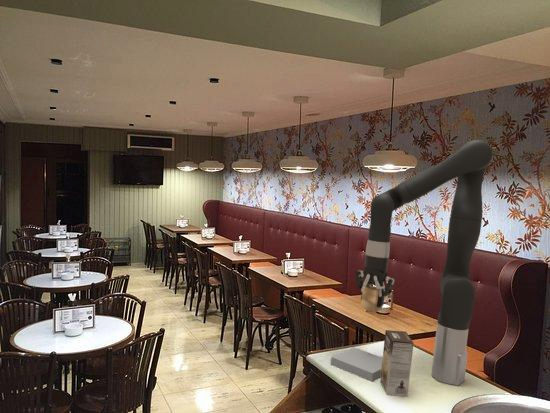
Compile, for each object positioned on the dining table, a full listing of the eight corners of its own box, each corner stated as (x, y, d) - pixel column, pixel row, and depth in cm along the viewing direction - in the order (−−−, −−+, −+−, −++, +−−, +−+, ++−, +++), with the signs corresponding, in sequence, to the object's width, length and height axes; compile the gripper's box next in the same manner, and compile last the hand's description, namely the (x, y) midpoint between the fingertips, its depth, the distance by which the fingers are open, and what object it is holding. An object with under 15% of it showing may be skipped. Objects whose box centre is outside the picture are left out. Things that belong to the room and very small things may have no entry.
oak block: (381, 310, 148) (384, 289, 147) (374, 312, 144) (376, 291, 144) (368, 306, 151) (370, 285, 151) (360, 308, 148) (363, 287, 147)
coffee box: (379, 380, 136) (384, 329, 135) (400, 382, 136) (405, 331, 134) (386, 395, 126) (392, 340, 125) (408, 397, 126) (414, 342, 125)
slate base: (393, 369, 145) (393, 361, 145) (372, 381, 134) (372, 373, 134) (353, 354, 155) (353, 347, 155) (330, 364, 144) (331, 356, 144)
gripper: (402, 257, 145) (396, 309, 146) (364, 249, 154) (359, 298, 155) (391, 259, 139) (385, 312, 140) (352, 251, 149) (347, 301, 150)
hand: (371, 304), depth 148 cm, fingers closed on oak block, 5 cm apart
